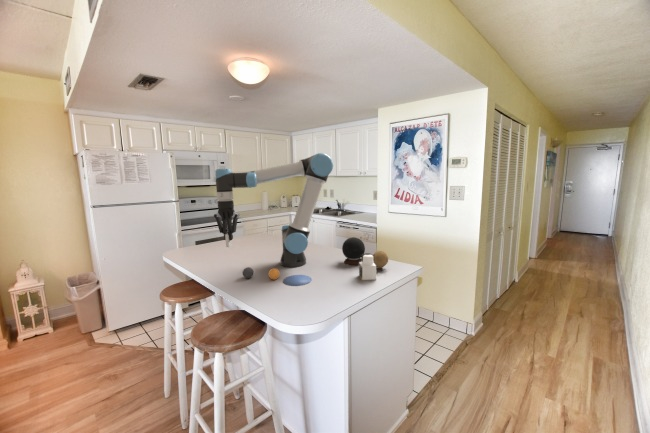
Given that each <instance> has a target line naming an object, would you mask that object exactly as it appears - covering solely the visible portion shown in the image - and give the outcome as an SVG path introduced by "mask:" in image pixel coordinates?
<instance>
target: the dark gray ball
mask: <svg viewBox="0 0 650 433" xmlns="http://www.w3.org/2000/svg"><path fill="white" fill-rule="evenodd" d="M254 272H255V271H254V269H253V268H252V267H249V266H248V267H245V268H244V269H243V270H242V276H243V277H244V278H245V279H250V278H253V276H254V274H255V273H254Z"/></svg>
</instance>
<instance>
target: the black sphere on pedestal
mask: <svg viewBox="0 0 650 433" xmlns="http://www.w3.org/2000/svg"><path fill="white" fill-rule="evenodd" d="M341 247H342V249H341V250H342V254H343V256H344V257H345V260H343V264H344V265H346V266H353V267H356V266H358V267H359V262H361V255H362V254H365V253H366V245H365V243H364V242H363V241H362V240H361V239H360V238H359V237H354V236H353V237H348V238H347V239H346V240H344V242H343V243H342V246H341Z"/></svg>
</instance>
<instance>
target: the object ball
mask: <svg viewBox="0 0 650 433" xmlns="http://www.w3.org/2000/svg"><path fill="white" fill-rule="evenodd" d="M280 273H281V272H280V270H279V269H278V268H271V269H270V270H269V271H268V276H269V277H268V278H270V279H271V280H277V279H278V278H279V277H280V275H281V274H280Z"/></svg>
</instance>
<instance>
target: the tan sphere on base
mask: <svg viewBox="0 0 650 433" xmlns="http://www.w3.org/2000/svg"><path fill="white" fill-rule="evenodd" d="M373 255H374V264H375V265H376V269H382V268H384V267H385V266H386V265H387V264H388V263H389V257H388V254H387V253H386V252H385V251H383V250H376V251H375V252H374V253H373Z"/></svg>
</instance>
